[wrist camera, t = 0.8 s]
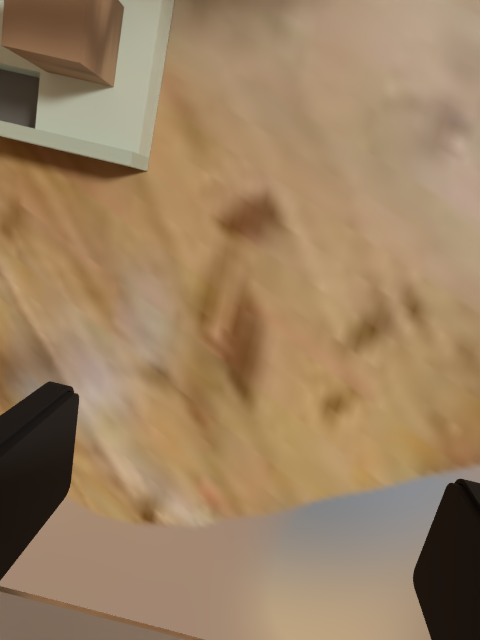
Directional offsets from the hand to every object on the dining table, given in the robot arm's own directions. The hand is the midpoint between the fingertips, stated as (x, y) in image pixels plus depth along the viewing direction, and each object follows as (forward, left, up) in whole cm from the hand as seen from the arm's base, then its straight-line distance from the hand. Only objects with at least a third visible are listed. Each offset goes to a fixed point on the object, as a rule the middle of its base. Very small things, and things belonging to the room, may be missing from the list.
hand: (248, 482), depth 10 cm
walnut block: (-15, -17, -23) cm, 32 cm away
